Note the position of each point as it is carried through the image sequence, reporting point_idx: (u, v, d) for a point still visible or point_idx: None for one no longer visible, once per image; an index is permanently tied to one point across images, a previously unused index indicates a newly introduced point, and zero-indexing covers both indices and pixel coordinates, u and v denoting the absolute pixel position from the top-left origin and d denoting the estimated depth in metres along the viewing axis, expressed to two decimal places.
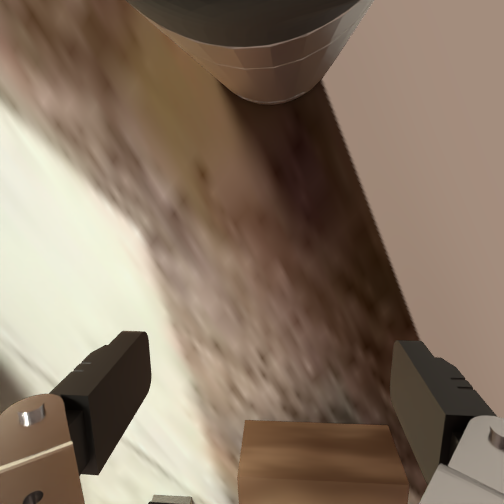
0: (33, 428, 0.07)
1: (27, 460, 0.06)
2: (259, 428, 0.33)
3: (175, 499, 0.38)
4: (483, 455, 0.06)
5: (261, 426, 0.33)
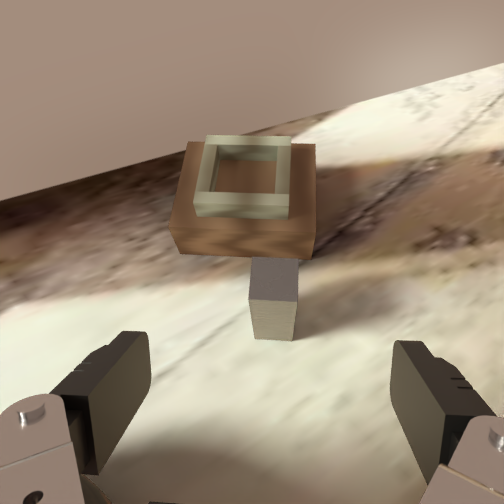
0: (34, 428, 0.07)
1: (27, 460, 0.06)
2: None
3: None
4: (483, 455, 0.06)
5: None
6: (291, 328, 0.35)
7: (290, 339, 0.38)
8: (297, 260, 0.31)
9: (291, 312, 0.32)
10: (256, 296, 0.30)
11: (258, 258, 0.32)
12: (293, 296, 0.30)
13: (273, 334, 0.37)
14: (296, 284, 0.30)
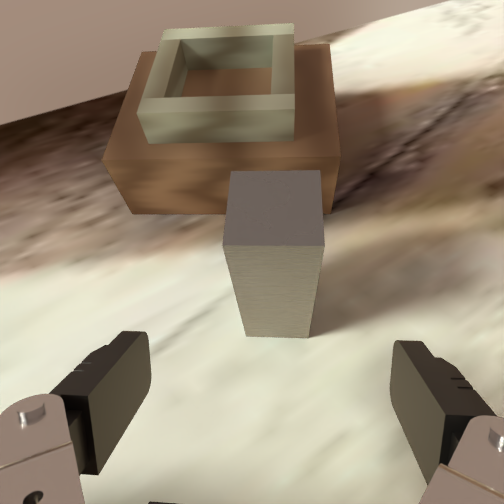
0: (34, 428, 0.07)
1: (27, 460, 0.06)
2: None
3: None
4: (483, 455, 0.06)
5: None
6: (309, 311, 0.20)
7: (305, 335, 0.23)
8: (318, 173, 0.16)
9: (310, 275, 0.16)
10: (239, 239, 0.15)
11: (242, 173, 0.16)
12: (315, 236, 0.14)
13: (276, 326, 0.22)
14: (319, 214, 0.15)
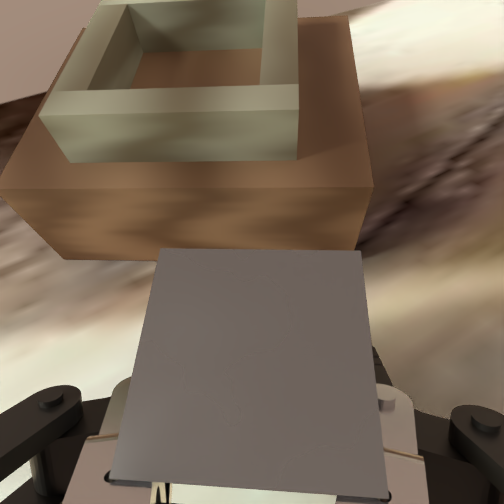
0: None
1: None
2: None
3: None
4: None
5: None
6: None
7: None
8: (356, 258, 0.07)
9: None
10: (156, 460, 0.05)
11: (185, 255, 0.07)
12: (359, 458, 0.05)
13: None
14: (367, 381, 0.06)
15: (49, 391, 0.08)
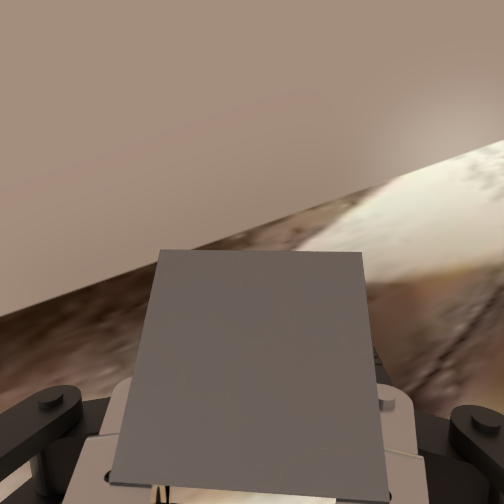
0: None
1: None
2: None
3: None
4: None
5: None
6: None
7: None
8: (357, 260, 0.07)
9: None
10: (156, 463, 0.05)
11: (185, 256, 0.07)
12: (360, 461, 0.05)
13: None
14: (368, 383, 0.06)
15: (49, 391, 0.08)
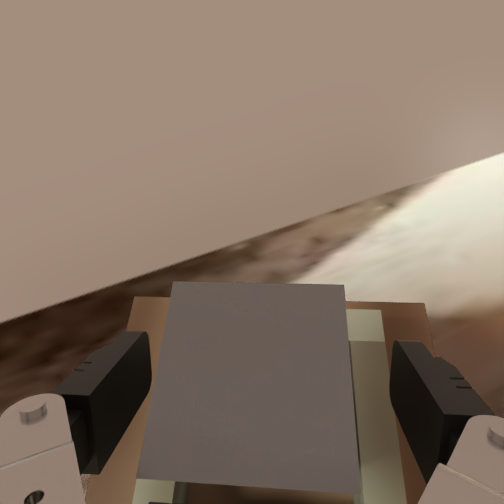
0: (35, 427, 0.07)
1: (28, 459, 0.06)
2: None
3: None
4: (481, 454, 0.06)
5: None
6: None
7: None
8: (340, 291, 0.08)
9: None
10: (174, 463, 0.07)
11: (194, 287, 0.09)
12: (338, 462, 0.07)
13: None
14: (346, 398, 0.07)
15: None
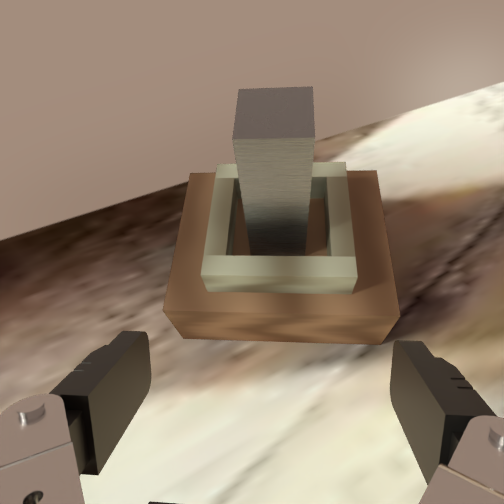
0: (34, 428, 0.07)
1: (27, 460, 0.06)
2: None
3: None
4: (483, 455, 0.06)
5: None
6: (304, 220, 0.23)
7: (302, 252, 0.26)
8: (311, 88, 0.20)
9: (304, 173, 0.20)
10: (246, 135, 0.18)
11: (248, 90, 0.20)
12: (307, 131, 0.18)
13: (277, 241, 0.25)
14: (311, 116, 0.18)
15: None
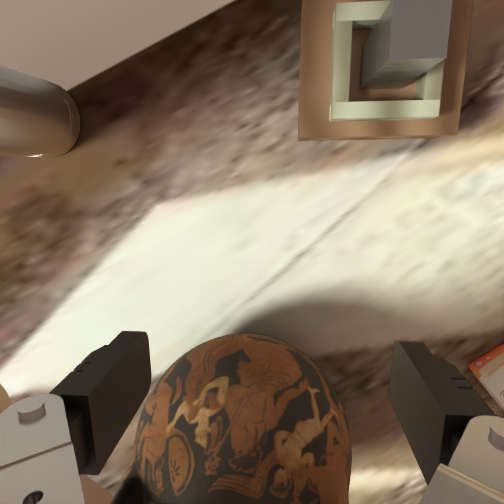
0: (33, 428, 0.07)
1: (27, 460, 0.06)
2: (298, 127, 0.43)
3: (361, 62, 0.36)
4: (483, 455, 0.06)
5: (298, 126, 0.43)
6: (412, 78, 0.33)
7: (399, 87, 0.36)
8: None
9: (427, 66, 0.29)
10: (398, 55, 0.26)
11: None
12: (442, 50, 0.26)
13: (384, 85, 0.35)
14: (446, 33, 0.26)
15: None
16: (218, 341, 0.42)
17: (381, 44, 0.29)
